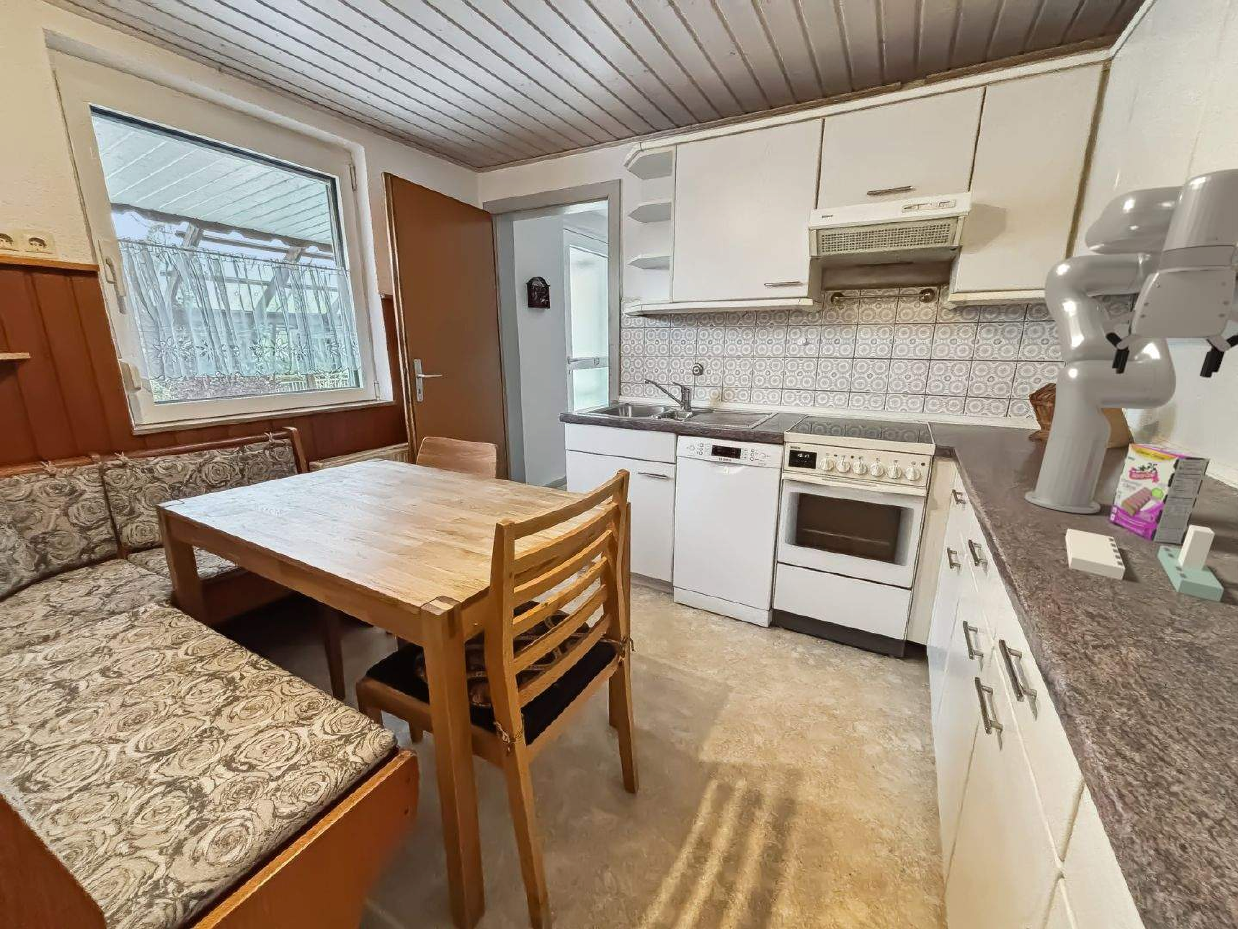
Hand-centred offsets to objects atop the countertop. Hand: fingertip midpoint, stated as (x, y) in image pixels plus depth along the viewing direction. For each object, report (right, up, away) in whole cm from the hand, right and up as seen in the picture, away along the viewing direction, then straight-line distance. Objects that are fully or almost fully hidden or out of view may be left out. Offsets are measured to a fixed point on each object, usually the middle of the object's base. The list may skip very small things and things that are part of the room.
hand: (1160, 375), depth 79 cm
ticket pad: (-8, -30, +3) cm, 32 cm away
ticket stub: (0, -32, -4) cm, 32 cm away
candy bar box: (+12, -28, +14) cm, 34 cm away
